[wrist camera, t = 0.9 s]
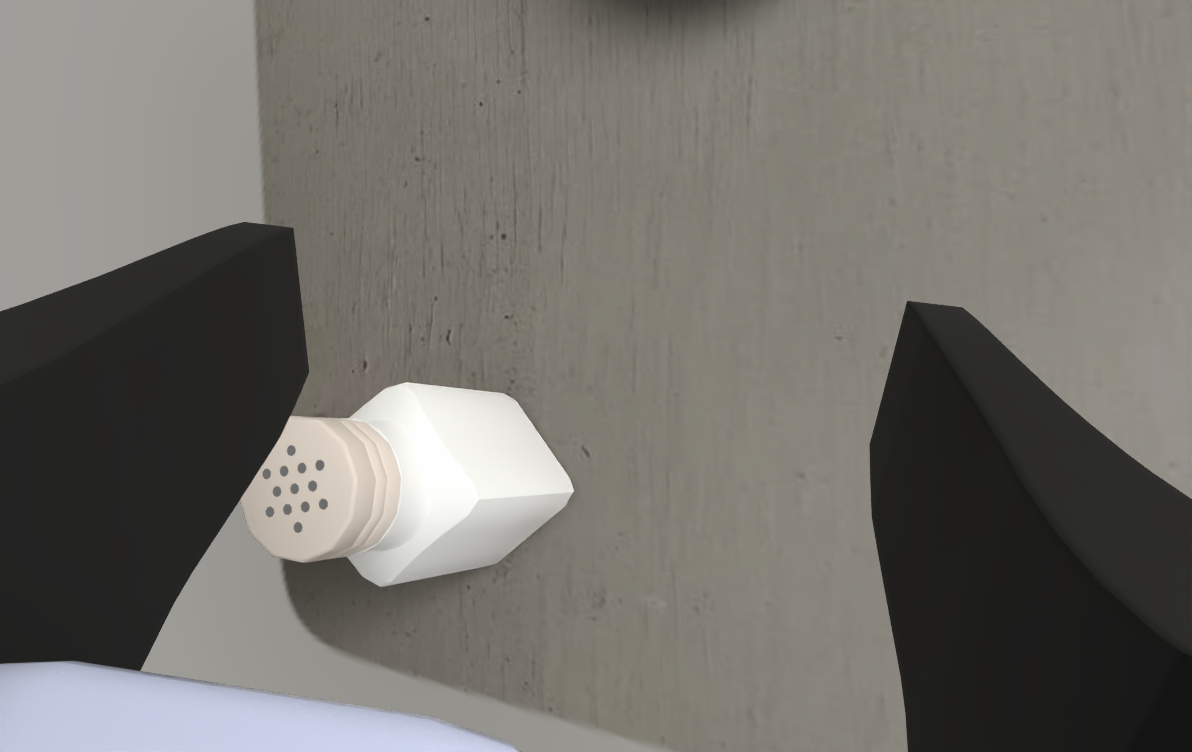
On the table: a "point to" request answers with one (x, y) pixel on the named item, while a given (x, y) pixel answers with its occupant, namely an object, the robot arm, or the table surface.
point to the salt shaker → (407, 484)
